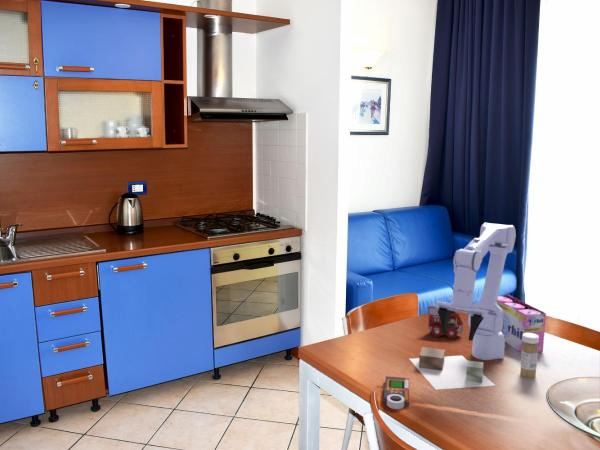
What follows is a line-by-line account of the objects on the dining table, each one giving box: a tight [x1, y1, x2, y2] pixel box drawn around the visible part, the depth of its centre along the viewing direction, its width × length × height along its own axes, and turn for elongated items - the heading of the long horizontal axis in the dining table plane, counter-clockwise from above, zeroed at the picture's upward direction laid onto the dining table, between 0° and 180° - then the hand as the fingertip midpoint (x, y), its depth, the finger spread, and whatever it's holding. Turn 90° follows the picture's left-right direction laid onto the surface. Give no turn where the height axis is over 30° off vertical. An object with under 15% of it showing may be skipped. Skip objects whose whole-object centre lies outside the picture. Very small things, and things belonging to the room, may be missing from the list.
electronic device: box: [383, 375, 410, 410], centre depth 155 cm, size 7×3×15 cm
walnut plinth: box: [418, 346, 446, 371], centre depth 174 cm, size 7×7×4 cm
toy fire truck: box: [427, 305, 464, 339], centre depth 201 cm, size 7×12×10 cm, turn 75°
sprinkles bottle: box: [519, 333, 539, 379], centre depth 166 cm, size 5×5×13 cm
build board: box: [408, 355, 496, 391], centre depth 169 cm, size 18×22×1 cm
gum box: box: [488, 293, 547, 353], centre depth 196 cm, size 24×8×14 cm, turn 12°
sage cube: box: [466, 359, 484, 383], centre depth 164 cm, size 4×4×4 cm
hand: (457, 337), depth 162 cm, fingers open, 7 cm apart
